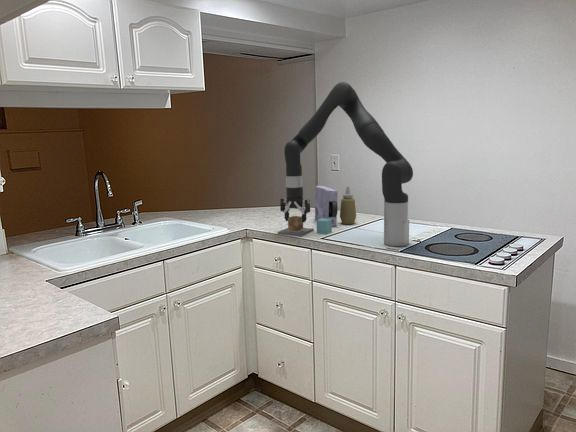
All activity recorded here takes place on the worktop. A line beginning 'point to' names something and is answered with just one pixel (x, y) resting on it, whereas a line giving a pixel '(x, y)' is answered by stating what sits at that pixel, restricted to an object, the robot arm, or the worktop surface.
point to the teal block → (324, 226)
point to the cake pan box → (326, 204)
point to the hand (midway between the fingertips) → (295, 221)
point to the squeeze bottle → (348, 208)
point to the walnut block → (295, 223)
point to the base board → (294, 233)
